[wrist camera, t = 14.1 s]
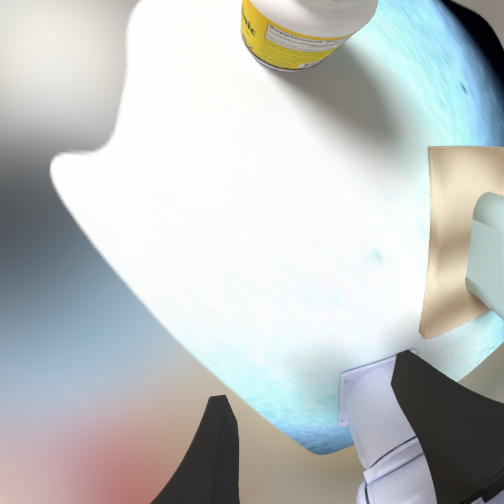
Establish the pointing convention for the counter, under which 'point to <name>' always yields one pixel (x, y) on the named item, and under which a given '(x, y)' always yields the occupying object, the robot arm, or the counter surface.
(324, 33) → the supplement bottle
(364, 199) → the counter surface
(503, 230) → the grey capsule with tab
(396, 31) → the counter surface
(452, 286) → the cutting board
